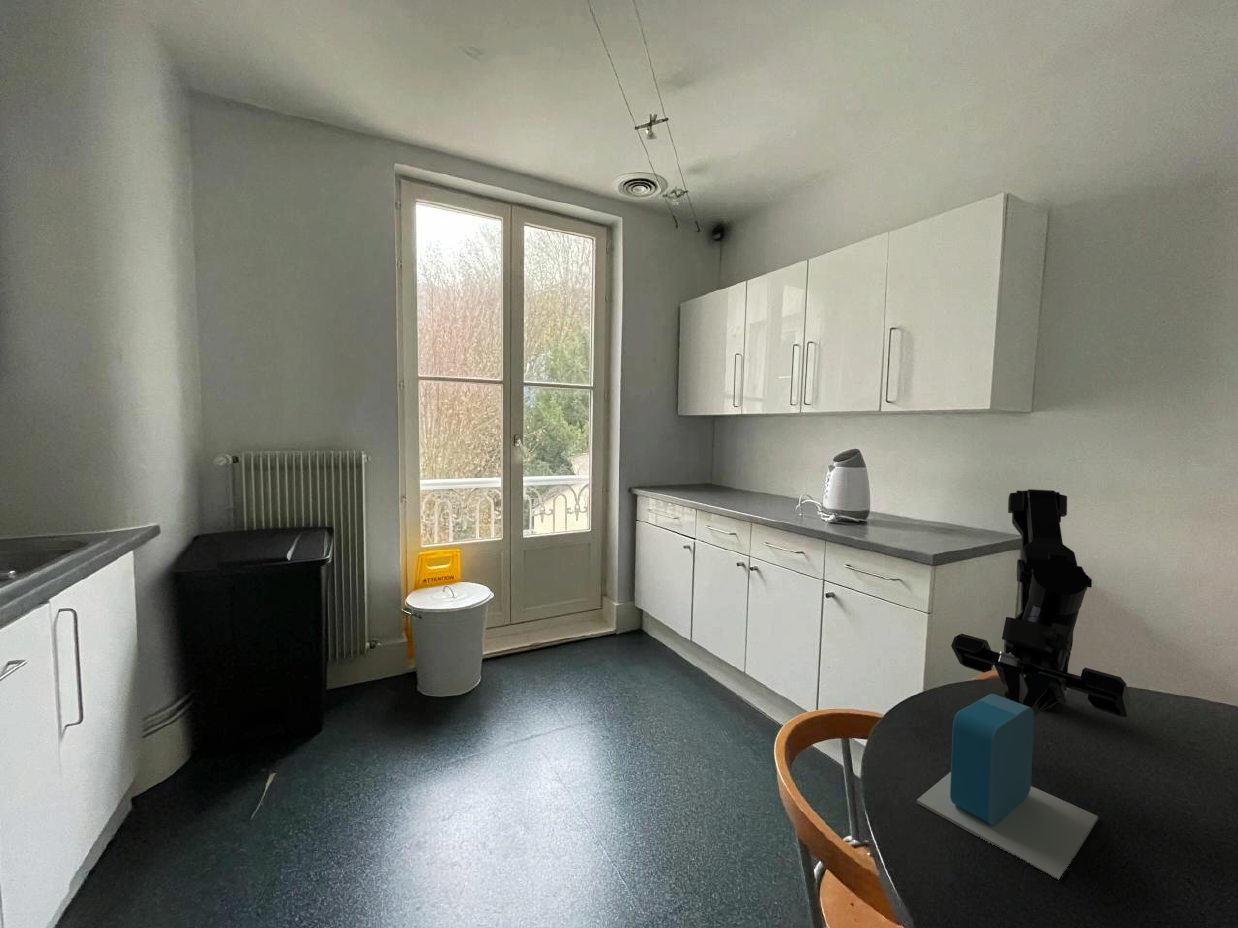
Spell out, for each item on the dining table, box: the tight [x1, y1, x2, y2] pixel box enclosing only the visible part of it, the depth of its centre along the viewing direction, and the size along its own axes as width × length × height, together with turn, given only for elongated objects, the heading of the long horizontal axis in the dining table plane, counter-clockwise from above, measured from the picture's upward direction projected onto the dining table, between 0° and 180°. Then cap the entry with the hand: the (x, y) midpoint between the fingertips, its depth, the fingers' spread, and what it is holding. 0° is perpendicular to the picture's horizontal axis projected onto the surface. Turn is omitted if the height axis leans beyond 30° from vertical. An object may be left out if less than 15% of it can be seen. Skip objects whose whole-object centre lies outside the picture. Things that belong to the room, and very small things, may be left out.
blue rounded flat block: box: [950, 693, 1035, 825], centre depth 63 cm, size 12×4×12 cm, turn 122°
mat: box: [916, 771, 1099, 880], centre depth 62 cm, size 16×14×1 cm
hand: (1016, 725), depth 66 cm, fingers closed
